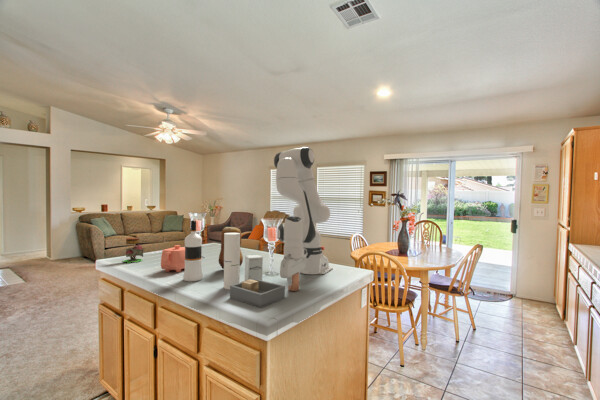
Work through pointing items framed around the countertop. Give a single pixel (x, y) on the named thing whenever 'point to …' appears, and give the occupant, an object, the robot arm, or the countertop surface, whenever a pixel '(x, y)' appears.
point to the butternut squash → (221, 256)
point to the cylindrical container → (231, 259)
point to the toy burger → (133, 250)
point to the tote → (265, 294)
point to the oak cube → (250, 285)
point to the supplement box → (253, 267)
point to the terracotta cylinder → (294, 283)
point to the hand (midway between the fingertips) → (293, 283)
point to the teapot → (173, 258)
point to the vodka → (193, 256)
